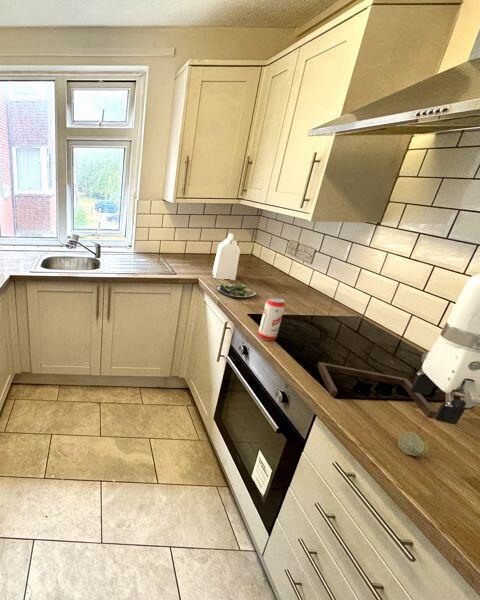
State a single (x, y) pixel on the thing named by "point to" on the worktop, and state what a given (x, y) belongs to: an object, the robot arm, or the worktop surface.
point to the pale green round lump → (413, 444)
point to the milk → (226, 259)
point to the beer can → (271, 318)
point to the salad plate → (235, 291)
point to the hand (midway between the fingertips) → (431, 406)
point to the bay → (374, 376)
